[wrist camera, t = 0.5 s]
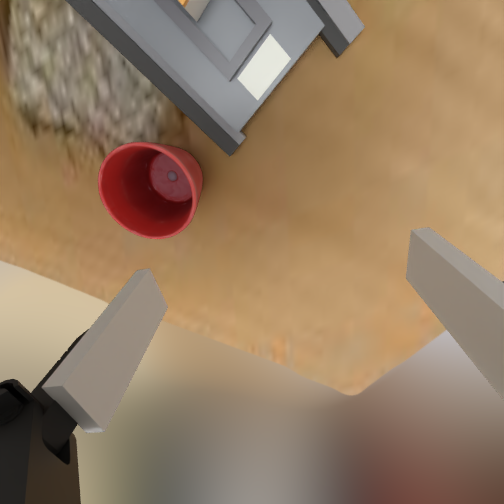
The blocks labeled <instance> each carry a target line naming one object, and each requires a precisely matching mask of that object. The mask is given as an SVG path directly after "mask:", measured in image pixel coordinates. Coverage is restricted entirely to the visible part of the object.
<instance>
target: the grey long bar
mask: <svg viewBox="0 0 504 504" xmlns="http://www.w3.org/2000/svg"><path fill="white" fill-rule="evenodd" d="M306 1H307V2H308V4H309V5H310V6H311V8H312V9H313V10H314V12H315V13H316V14H317V16H318V17H319V18H320V20H321V21H322V22H323V24H324V25H325V26H324V27H323V29H322V30H321V32H320V34H319V35H320V36H321V38H322V39H323V40H324V42H325V43H326V44H327V46H328V47H329V48H330V50H331V51H332V52H333V54H334V55H335V56H336V57H338V56H339V55H340V54H341V53H342V52H343V51H344V50H345V49H346V47H347V46H348V45H349V44H350V43H351V42H352V41H353V40H354V39H355V38H356V36H357V35H358V34H359V33H360V32H361V31H362V30H363V28H364V27H365V26H364V25H363V23H362V22H361V20H360V19H359V18H358V16H357V15H356V13H355V12H354V10H353V9H352V8H351V6H350V5H349V3H348V2H347V0H306Z"/></svg>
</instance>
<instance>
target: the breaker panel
mask: <svg viewBox="0 0 504 504" xmlns="http://www.w3.org/2000/svg"><path fill="white" fill-rule="evenodd" d="M105 1H106V2H107V3H108V4H109V5H110V6H111V7H112V8H113V9H114V10H115V11H116V12H117V13H118V14H119V15H120V16H121V17H122V18H123V19H124V20H125V21H126V22H127V23H128V24H129V25H130V26H131V27H132V28H133V29H134V30H135V31H136V32H137V33H138V34H139V35H140V36H141V37H142V38H143V39H144V40H145V41H146V42H147V43H148V44H149V45H150V46H151V47H152V48H153V49H154V50H155V51H156V52H157V53H158V54H159V55H160V56H161V57H162V58H163V59H164V60H165V61H166V62H167V63H168V64H169V65H170V66H171V67H172V68H173V69H174V70H175V71H176V72H177V73H178V74H179V75H180V76H181V77H182V78H183V79H184V80H185V81H186V82H187V83H188V84H189V85H190V86H191V87H192V88H193V89H194V90H195V91H196V92H197V93H198V94H199V95H200V96H201V97H202V98H203V99H204V100H205V101H206V102H207V103H208V104H209V105H210V106H211V107H212V108H213V109H214V110H215V111H216V112H217V113H218V114H219V115H220V116H221V117H222V118H223V119H224V120H225V121H226V122H227V123H228V124H229V125H230V126H231V127H232V128H233V129H234V130H235V131H236V132H237V133H239V132H240V131H241V130H242V129H243V127H244V126H245V125H246V124H247V123H248V121H249V120H250V119H251V118H252V116H253V115H254V114H255V113H256V111H257V110H258V109H259V108H260V106H261V105H262V104H263V103H264V102H265V100H266V99H267V98H268V97H269V95H270V94H271V93H272V92H273V90H274V89H275V88H276V87H277V86H278V84H279V83H280V82H281V81H282V79H283V78H284V77H285V76H286V74H287V73H288V72H289V71H290V69H291V68H292V67H293V66H294V65H295V63H296V62H297V61H298V60H299V58H300V57H301V56H302V55H303V53H304V52H305V51H306V50H307V49H308V47H309V46H310V45H311V44H312V42H313V41H314V40H315V39H316V37H317V36H318V35H319V34H320V32H321V30H322V29H323V27H324V26H325V25H324V24H323V22H322V21H321V20H320V18H319V17H318V16H317V14H316V13H315V12H314V10H313V9H312V8H311V6H310V5H309V4H308V2H307V1H306V0H210V1H209V3H208V4H207V6H206V8H205V9H204V11H203V13H202V14H201V16H200V18H199V19H198V21H197V22H196V21H195V19H194V18H193V17H192V16H191V15H190V14H189V13H188V12H187V11H186V10H185V8H184V7H183V6H182V5H181V4H180V3H179V2H178V1H177V0H105Z"/></svg>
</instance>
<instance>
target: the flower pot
mask: <svg viewBox="0 0 504 504" xmlns="http://www.w3.org/2000/svg"><path fill="white" fill-rule="evenodd" d="M202 184H203V175H202V171H201V168H200V166H199V164H198V162H197V161H196V160H195V158H194V157H193V156H192V155H191V154H190V153H188V152H187V151H185V150H183V149H181V148H177V147H173V146H169V145H163V144H157V143H151V142H132V143H127V144H124V145H121V146H119V147H117V148H116V149H114V150H113V151H111V152H110V153H109V154H108V155H107V157H106V158H105V159H104V161H103V163H102V165H101V167H100V170H99V175H98V188H99V194H100V197H101V200H102V202H103V205H104V206H105V208H106V210H107V211H108V213H109V214H110V215H111V217H112V218H113V219H114V220H115V221H116V222H117V223H118V224H119V225H121V226H122V227H123V228H125V229H126V230H128V231H130V232H132V233H134V234H136V235H138V236H141V237H145V238H150V239H164V238H169V237H172V236H174V235H176V234H178V233H180V232H181V231H183V230H184V229H185V228H186V227H187V226H188V225H189V223H190V222H191V220H192V219H193V216H194V214H195V212H196V209H197V205H198V202H199V198H200V194H201V190H202Z"/></svg>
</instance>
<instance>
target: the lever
mask: <svg viewBox="0 0 504 504" xmlns="http://www.w3.org/2000/svg"><path fill="white" fill-rule="evenodd" d="M177 1H178V2H179V3H180V4H181V5H182V6H183V7H184V8H185V10H186V11H187V12H188V13H189V14H190V15H191V16H192V17H193V18H194V19H195V21H196V22H197V21H198V19H199V18H200V16H201V14H202V13H203V11H204V9H205V8H206V6H207V4H208V3H209V1H210V0H177Z"/></svg>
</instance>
